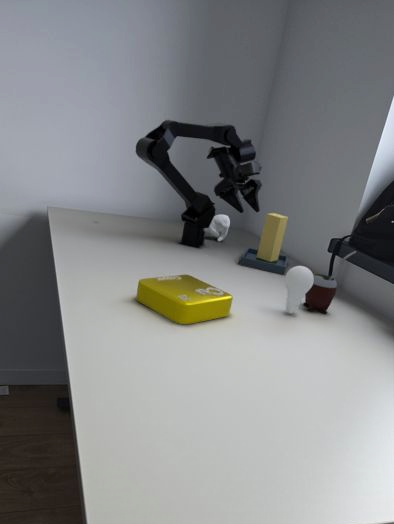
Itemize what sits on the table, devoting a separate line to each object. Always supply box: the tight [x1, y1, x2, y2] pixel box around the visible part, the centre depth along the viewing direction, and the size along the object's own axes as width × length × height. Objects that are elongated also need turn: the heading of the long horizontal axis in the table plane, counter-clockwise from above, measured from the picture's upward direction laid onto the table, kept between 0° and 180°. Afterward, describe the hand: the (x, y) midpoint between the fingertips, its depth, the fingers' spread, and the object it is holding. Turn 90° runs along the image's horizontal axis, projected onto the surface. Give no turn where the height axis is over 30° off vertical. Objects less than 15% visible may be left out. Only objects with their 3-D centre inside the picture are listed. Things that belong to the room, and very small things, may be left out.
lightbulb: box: [284, 265, 314, 315], centre depth 109 cm, size 6×6×11 cm
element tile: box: [135, 274, 233, 325], centre depth 101 cm, size 15×15×5 cm
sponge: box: [256, 212, 289, 264], centre depth 147 cm, size 5×5×14 cm
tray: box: [239, 247, 289, 276], centre depth 149 cm, size 13×15×2 cm
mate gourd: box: [303, 250, 357, 315], centre depth 114 cm, size 8×8×15 cm
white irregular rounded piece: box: [205, 214, 231, 242], centre depth 169 cm, size 6×8×12 cm
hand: (250, 212), depth 149 cm, fingers open, 9 cm apart
